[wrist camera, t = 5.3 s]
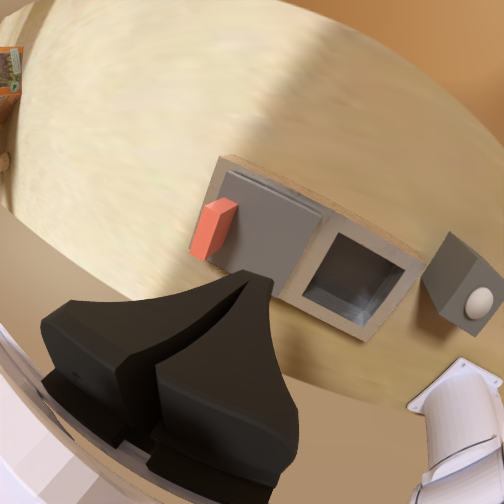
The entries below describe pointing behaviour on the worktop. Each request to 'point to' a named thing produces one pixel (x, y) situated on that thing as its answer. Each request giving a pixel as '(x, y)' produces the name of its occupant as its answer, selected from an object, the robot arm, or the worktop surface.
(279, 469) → the robot arm
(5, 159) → the handle
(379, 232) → the socket
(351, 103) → the worktop surface
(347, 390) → the worktop surface
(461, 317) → the grey block
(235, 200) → the shutter
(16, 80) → the milk carton
